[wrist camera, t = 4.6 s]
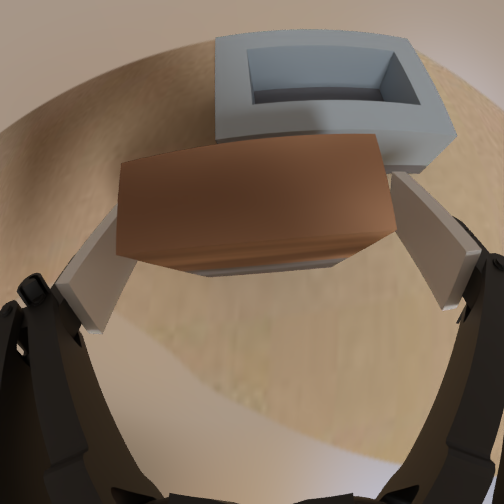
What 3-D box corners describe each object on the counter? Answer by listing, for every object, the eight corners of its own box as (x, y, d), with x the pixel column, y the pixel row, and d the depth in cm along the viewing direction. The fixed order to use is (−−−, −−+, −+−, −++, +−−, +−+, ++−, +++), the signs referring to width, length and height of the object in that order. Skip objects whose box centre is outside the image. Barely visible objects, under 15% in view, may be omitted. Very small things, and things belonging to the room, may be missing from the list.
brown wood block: (330, 267, 18) (396, 230, 7) (208, 277, 18) (115, 254, 8) (325, 222, 18) (375, 134, 7) (206, 232, 19) (121, 163, 8)
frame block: (419, 173, 18) (457, 136, 12) (234, 183, 19) (215, 139, 13) (388, 84, 19) (407, 38, 13) (229, 88, 20) (215, 37, 15)
